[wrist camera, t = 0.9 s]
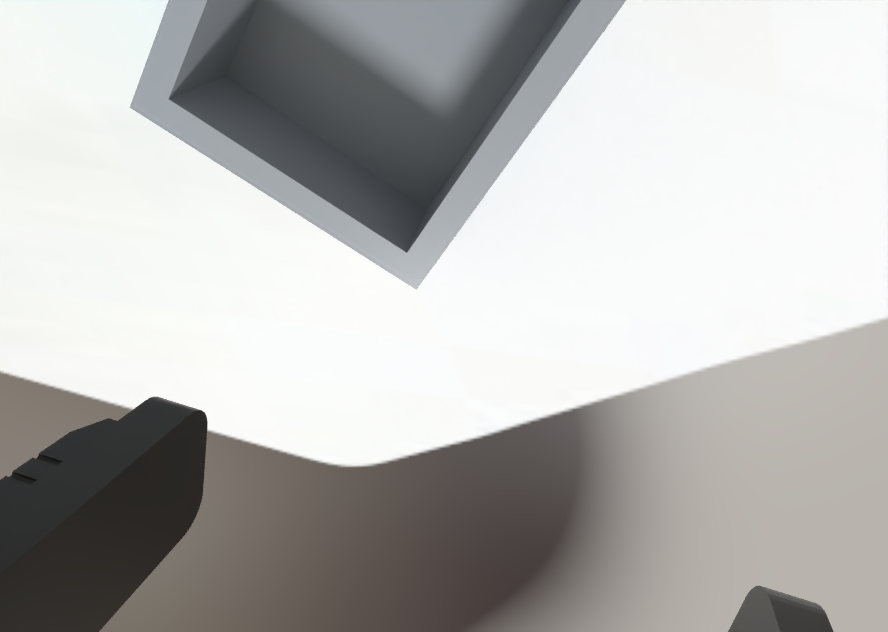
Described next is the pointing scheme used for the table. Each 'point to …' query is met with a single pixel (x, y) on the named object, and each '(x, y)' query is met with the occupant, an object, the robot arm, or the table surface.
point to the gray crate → (367, 104)
